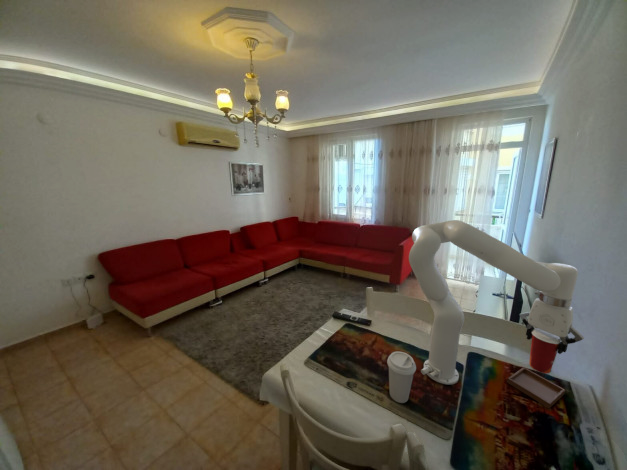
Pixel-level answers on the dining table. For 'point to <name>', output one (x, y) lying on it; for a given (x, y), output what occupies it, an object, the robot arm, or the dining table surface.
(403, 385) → the coffee cup
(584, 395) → the dining table surface
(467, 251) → the robot arm
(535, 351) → the paper cup
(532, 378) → the tray
